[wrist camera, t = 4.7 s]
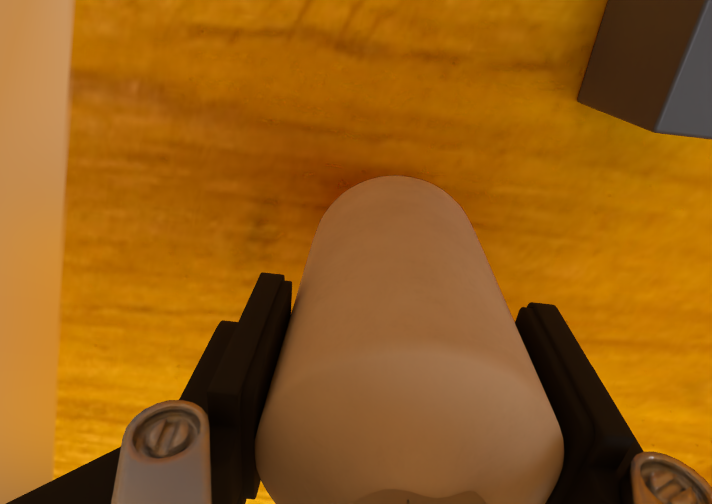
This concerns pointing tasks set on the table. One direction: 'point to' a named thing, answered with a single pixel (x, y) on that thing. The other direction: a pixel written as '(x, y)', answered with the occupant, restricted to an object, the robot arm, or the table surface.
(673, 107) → the block
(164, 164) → the table surface
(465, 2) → the table surface
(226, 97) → the table surface
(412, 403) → the candle
